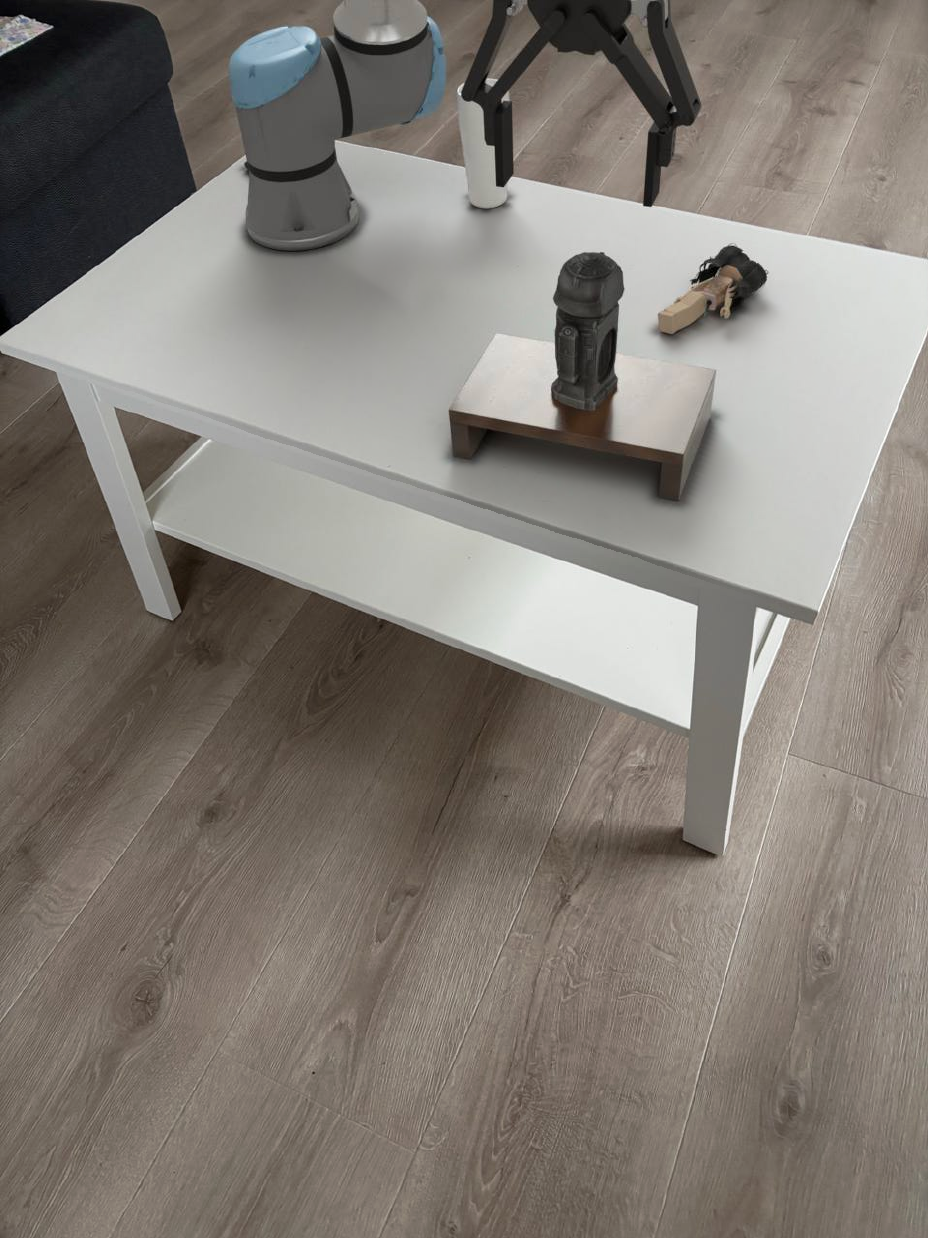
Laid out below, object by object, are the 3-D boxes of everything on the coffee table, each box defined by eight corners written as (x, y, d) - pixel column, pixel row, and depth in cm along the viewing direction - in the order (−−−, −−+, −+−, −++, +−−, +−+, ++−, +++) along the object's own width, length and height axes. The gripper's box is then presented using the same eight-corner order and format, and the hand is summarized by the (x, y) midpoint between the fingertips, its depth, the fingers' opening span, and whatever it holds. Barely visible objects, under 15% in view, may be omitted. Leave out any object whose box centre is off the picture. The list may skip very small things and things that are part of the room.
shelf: (452, 455, 114) (448, 409, 109) (498, 378, 122) (495, 332, 118) (678, 501, 107) (683, 454, 103) (710, 416, 115) (716, 369, 111)
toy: (578, 359, 114) (581, 225, 102) (628, 375, 111) (637, 239, 100) (537, 403, 109) (535, 268, 98) (589, 420, 107) (593, 284, 96)
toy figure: (704, 351, 124) (774, 287, 130) (702, 302, 119) (775, 238, 126) (652, 336, 128) (722, 275, 134) (648, 288, 123) (721, 227, 130)
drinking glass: (508, 213, 147) (504, 100, 136) (459, 211, 148) (451, 99, 137) (516, 189, 151) (513, 77, 140) (468, 187, 152) (462, 76, 141)
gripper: (409, -76, 82) (431, 191, 98) (739, -55, 75) (705, 229, 91) (446, -107, 87) (461, 153, 103) (760, -90, 80) (725, 186, 96)
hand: (576, 189), depth 97 cm, fingers open, 13 cm apart
